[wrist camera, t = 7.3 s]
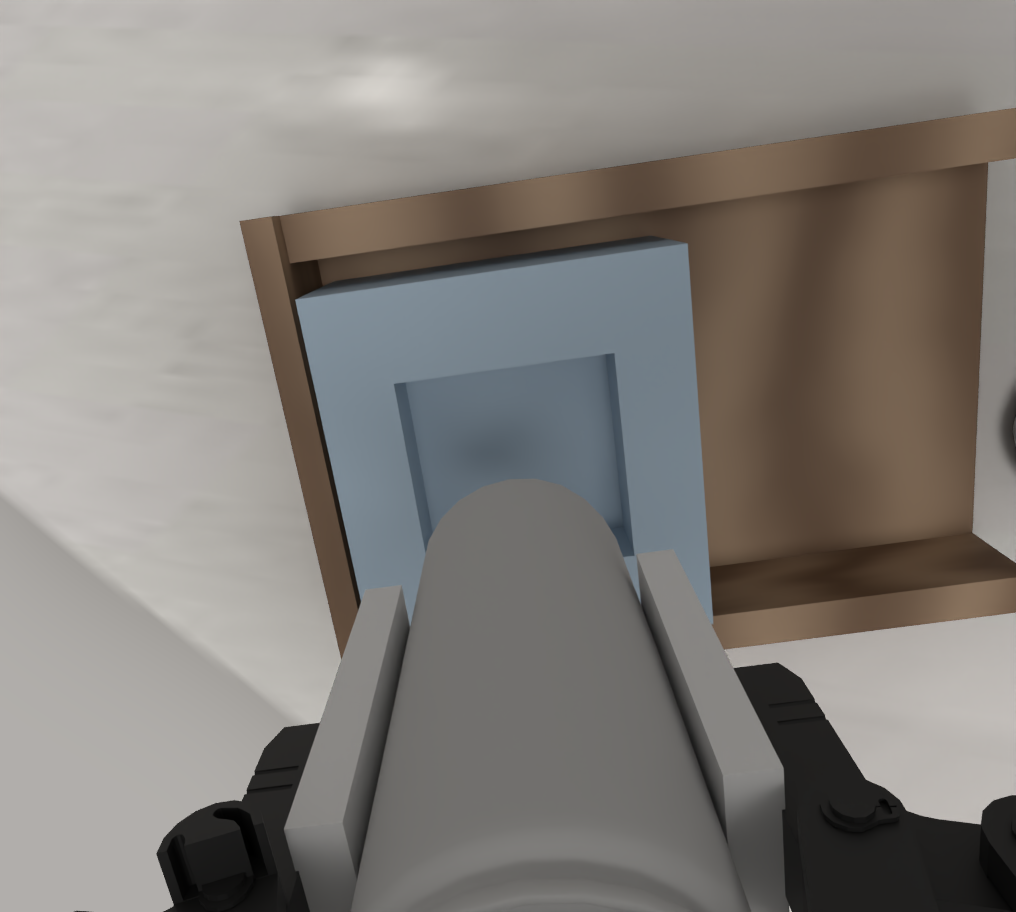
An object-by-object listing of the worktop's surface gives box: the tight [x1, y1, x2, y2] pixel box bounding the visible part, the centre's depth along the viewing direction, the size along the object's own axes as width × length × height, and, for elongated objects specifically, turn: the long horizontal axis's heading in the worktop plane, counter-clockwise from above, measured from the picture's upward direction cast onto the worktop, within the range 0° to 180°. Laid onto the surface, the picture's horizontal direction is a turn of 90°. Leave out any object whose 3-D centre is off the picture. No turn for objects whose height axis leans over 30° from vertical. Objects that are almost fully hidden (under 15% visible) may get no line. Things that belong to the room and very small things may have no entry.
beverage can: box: [350, 479, 751, 912], centre depth 14 cm, size 5×5×12 cm
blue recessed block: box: [295, 236, 713, 625], centre depth 29 cm, size 12×13×6 cm
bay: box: [240, 108, 1016, 660], centre depth 30 cm, size 26×18×6 cm
